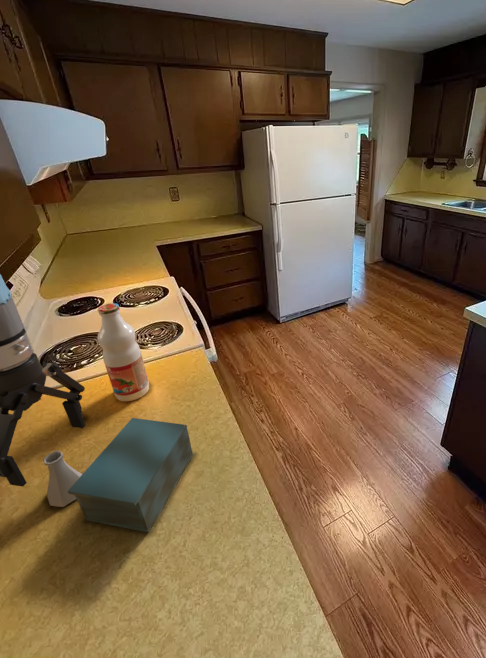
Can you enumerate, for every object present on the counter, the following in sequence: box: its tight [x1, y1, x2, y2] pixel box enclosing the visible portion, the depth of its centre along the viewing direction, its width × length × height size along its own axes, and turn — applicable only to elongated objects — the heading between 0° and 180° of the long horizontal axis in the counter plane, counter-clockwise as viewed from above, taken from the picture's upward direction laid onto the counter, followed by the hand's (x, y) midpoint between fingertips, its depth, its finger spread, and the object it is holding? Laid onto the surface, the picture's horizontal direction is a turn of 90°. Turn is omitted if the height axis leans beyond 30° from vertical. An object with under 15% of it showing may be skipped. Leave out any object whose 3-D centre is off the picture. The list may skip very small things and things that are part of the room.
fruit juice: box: [97, 302, 150, 402], centre depth 92 cm, size 9×9×28 cm
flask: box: [42, 450, 83, 508], centre depth 67 cm, size 7×7×10 cm
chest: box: [75, 427, 194, 534], centre depth 68 cm, size 17×13×9 cm
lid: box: [68, 417, 188, 506], centre depth 66 cm, size 18×13×1 cm
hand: (51, 452), depth 64 cm, fingers open, 13 cm apart
